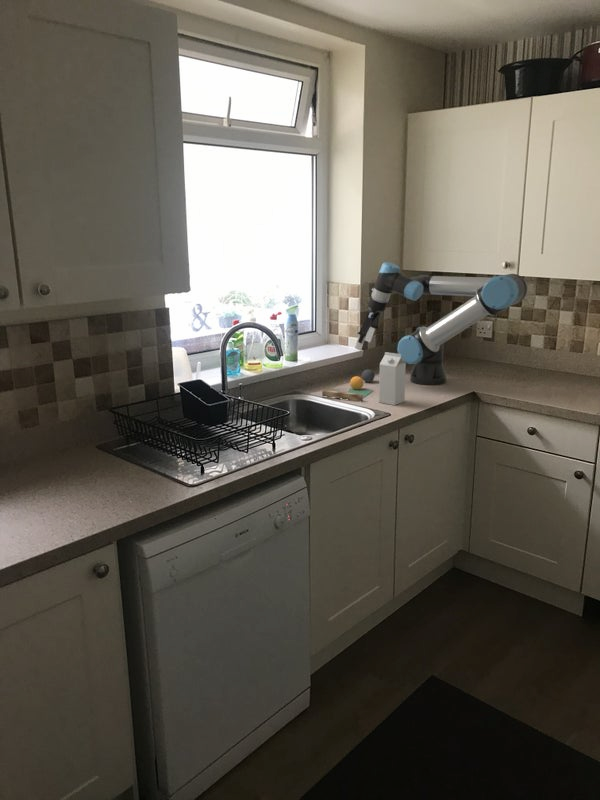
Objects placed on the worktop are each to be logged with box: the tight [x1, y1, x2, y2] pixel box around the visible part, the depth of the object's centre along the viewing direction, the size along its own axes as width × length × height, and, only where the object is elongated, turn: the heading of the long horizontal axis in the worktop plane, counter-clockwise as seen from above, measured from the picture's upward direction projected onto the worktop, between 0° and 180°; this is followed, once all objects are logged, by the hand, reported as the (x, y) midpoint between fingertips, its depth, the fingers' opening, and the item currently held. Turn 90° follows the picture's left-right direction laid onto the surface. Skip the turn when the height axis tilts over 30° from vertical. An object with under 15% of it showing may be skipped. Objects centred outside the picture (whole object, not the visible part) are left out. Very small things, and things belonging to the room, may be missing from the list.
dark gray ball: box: [361, 369, 376, 383], centre depth 280 cm, size 6×6×6 cm
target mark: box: [348, 387, 374, 399], centre depth 263 cm, size 14×14×1 cm
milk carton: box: [378, 351, 407, 406], centre depth 247 cm, size 7×7×19 cm
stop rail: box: [321, 389, 364, 402], centre depth 255 cm, size 16×2×2 cm, turn 65°
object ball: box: [349, 375, 364, 390], centre depth 268 cm, size 6×6×6 cm
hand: (362, 345), depth 282 cm, fingers open, 13 cm apart
